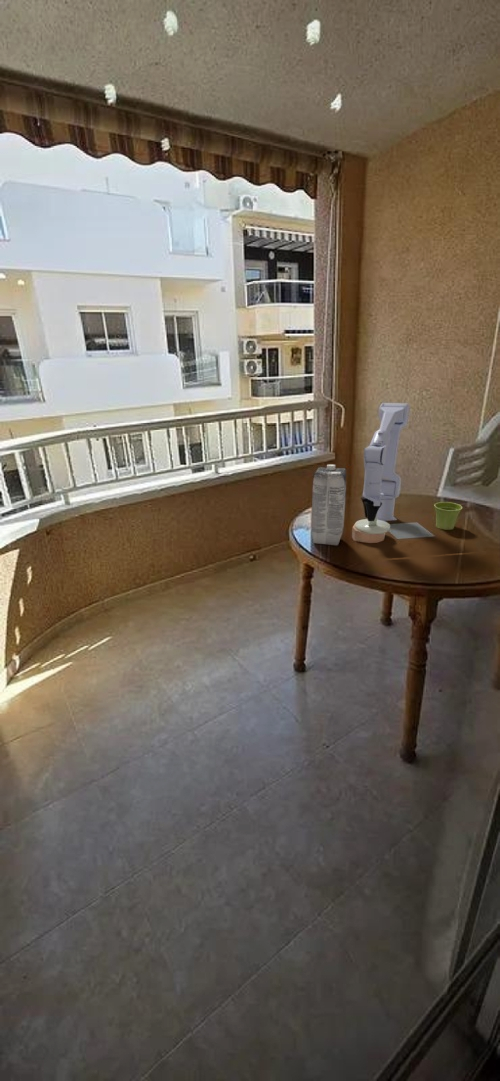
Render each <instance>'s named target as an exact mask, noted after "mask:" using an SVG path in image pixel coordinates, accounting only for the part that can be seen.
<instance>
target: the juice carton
mask: <svg viewBox="0 0 500 1081" xmlns="http://www.w3.org/2000/svg"><path fill="white" fill-rule="evenodd" d="M346 491H347V469H345V468H336V464H327V465H326V467H322V466H319V467H318V468H317V470H316V471H315V472H314V474H313V482H312V502H311V503H312V504H311V505H312V506H311V507H312V508H311V509H312V510H311V511H312V512H311V534H312V535H311V536H312V537H311V538H312V541H313V543H314V544H319V545H330V546H339V543H340V540H341V538H342V535H343V532H344V526H345V524H344V523H345V513H346V512H345V511H346V510H345V508H346V497H347V495H346V494H347V492H346Z"/></svg>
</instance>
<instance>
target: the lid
mask: <svg viewBox="0 0 500 1081" xmlns="http://www.w3.org/2000/svg"><path fill="white" fill-rule="evenodd" d="M377 516H378V514H376V517H375V520H374V521H368V519H367V518H365V519H364V518H363V519H360V520H357V521H356V522H355V523H354V524H355V528H356V529H357V530H358V531H361V532H364V533H369V534H382V533H385V534H386V533H388V532H389V530H390V524H391V523H390V522H388V521H382V520H377Z"/></svg>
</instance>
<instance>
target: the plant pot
mask: <svg viewBox="0 0 500 1081" xmlns="http://www.w3.org/2000/svg"><path fill="white" fill-rule="evenodd" d="M433 506H434V509H435V527H436V528H438V529H441V530H446V531H447V530H448V531H451V530H453V529H454V528H455V525H456V523H457V520H458V518H459V515H460V513H461V511H462V509H463V506H462V505H461V504H458V503H455V502H450V501H442V502H439V501H438V502H436V503H434V504H433Z"/></svg>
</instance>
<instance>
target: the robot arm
mask: <svg viewBox="0 0 500 1081" xmlns="http://www.w3.org/2000/svg"><path fill="white" fill-rule="evenodd" d="M410 407H411V406H410V404H409V403H407V402H405V403H404V402H403V403H401V402H399V403H397V402H382V403H381V404H380V406H379V409H378V419H379V421H380V425H379V429H378V430H376V431H375V432H374V433H373V436H372V439H371V441H370V443H369V445H368V446H366V447H365V448H364V451H363V452H364V453H363V468H364V481H363V492H362V497H360V500H361V502H362V506H363V512H364V517H365V519H368V521H374V520H375V517H376V514H378V516H377V520H382V521H385V522H388V521H398V519H397V518H396V517H395V516H394V513H395V511H394V510H395V506H396V505H395V503H396V498H398V497H399V496H400V493H401V491H402V490H401V486H402V484H401V483H402V478H401V476H400V475H399V474H397V473H396V466H397V465H396V464H397V457H398V452H399V444H400V438H401V437H400V436H401V432H402V430H403V428H407V425H408V423H409V419H410V418H409V416H410Z"/></svg>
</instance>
